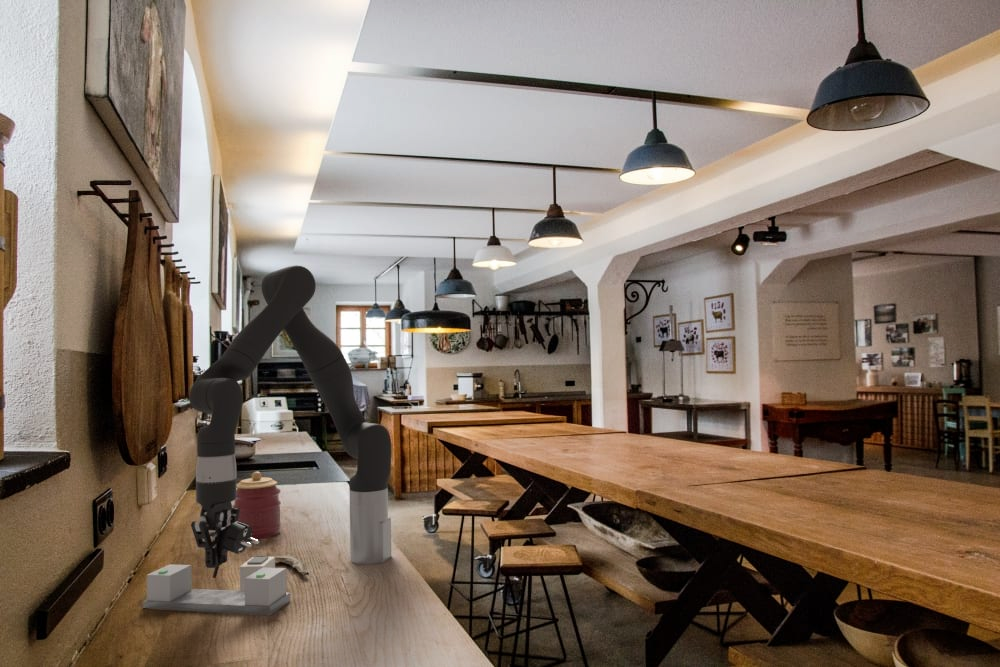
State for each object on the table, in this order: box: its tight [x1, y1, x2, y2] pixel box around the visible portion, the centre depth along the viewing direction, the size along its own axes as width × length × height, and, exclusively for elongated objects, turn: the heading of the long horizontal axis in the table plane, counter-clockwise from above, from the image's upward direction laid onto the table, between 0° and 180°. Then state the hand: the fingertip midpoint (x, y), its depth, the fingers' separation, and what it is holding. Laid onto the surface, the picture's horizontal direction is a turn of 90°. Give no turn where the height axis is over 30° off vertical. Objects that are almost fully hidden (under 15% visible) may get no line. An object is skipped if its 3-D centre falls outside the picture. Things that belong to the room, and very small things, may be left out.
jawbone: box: [250, 554, 310, 577], centre depth 163 cm, size 9×20×2 cm, turn 55°
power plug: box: [212, 522, 260, 579], centre depth 138 cm, size 6×8×12 cm
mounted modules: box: [146, 563, 287, 606], centre depth 138 cm, size 26×7×5 cm, turn 80°
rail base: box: [142, 588, 291, 617], centre depth 138 cm, size 27×8×2 cm, turn 80°
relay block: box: [239, 556, 276, 591], centre depth 149 cm, size 5×7×6 cm
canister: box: [232, 471, 282, 540], centre depth 197 cm, size 13×13×18 cm
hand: (216, 564), depth 139 cm, fingers closed on power plug, 2 cm apart
